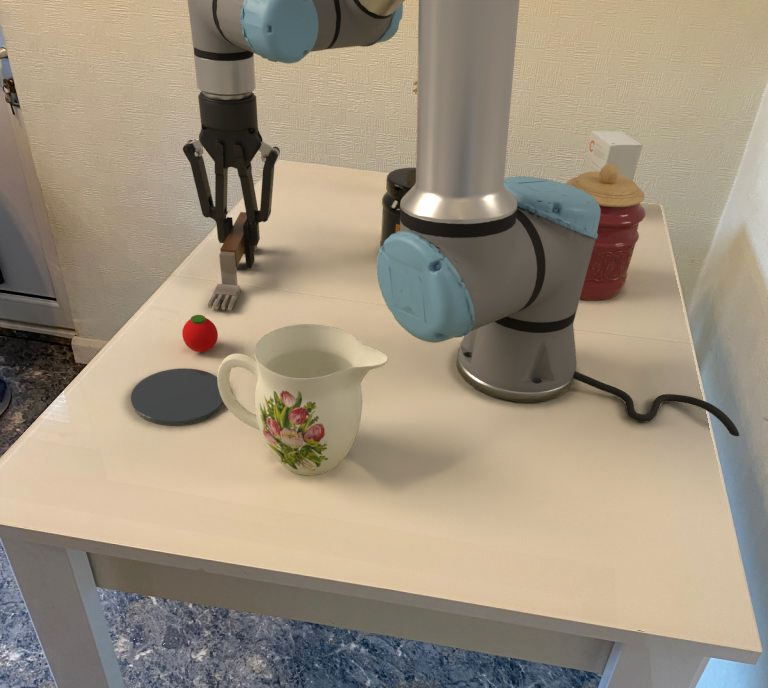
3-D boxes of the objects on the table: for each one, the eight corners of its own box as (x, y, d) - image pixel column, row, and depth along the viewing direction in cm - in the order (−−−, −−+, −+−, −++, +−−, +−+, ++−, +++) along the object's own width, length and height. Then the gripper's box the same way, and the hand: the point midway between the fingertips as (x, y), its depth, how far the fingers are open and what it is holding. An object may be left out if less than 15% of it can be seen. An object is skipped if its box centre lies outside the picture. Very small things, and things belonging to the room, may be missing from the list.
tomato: (226, 348, 96) (223, 316, 93) (202, 362, 93) (198, 330, 90) (201, 337, 97) (197, 306, 94) (177, 351, 94) (172, 319, 91)
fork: (239, 246, 118) (237, 211, 114) (259, 247, 118) (258, 213, 114) (208, 308, 102) (204, 271, 98) (231, 310, 102) (228, 273, 98)
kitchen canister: (536, 293, 112) (562, 173, 100) (543, 259, 121) (567, 144, 109) (622, 307, 110) (659, 186, 98) (623, 271, 120) (657, 156, 107)
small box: (622, 220, 136) (643, 144, 127) (591, 221, 135) (610, 145, 126) (603, 203, 142) (622, 130, 133) (573, 204, 140) (590, 130, 131)
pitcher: (244, 410, 86) (234, 301, 77) (393, 441, 83) (401, 332, 74) (203, 467, 78) (187, 354, 69) (366, 503, 75) (372, 390, 66)
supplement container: (440, 272, 116) (449, 194, 107) (374, 263, 116) (378, 185, 108) (446, 245, 123) (455, 170, 115) (384, 237, 124) (389, 162, 116)
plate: (246, 393, 88) (245, 389, 88) (179, 437, 82) (179, 433, 81) (179, 362, 93) (178, 358, 92) (111, 402, 86) (110, 397, 85)
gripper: (289, 88, 99) (294, 257, 115) (176, 80, 99) (197, 249, 115) (280, 104, 94) (286, 278, 110) (160, 94, 94) (184, 270, 110)
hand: (241, 263), depth 112 cm, fingers closed on fork, 2 cm apart
